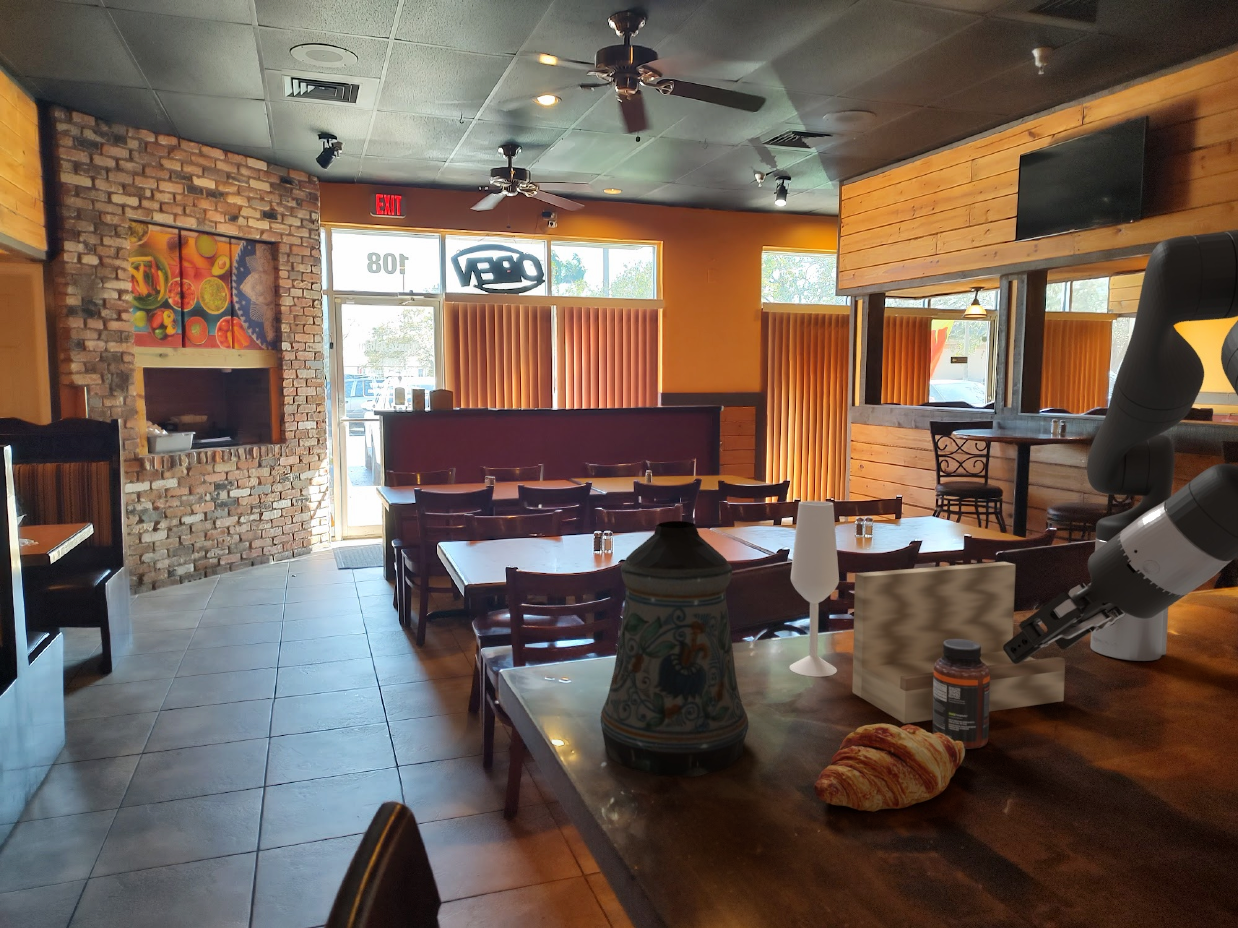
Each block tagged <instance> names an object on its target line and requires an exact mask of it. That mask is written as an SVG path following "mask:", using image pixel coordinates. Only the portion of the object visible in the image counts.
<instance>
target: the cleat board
mask: <svg viewBox="0 0 1238 928" xmlns="http://www.w3.org/2000/svg"><path fill="white" fill-rule="evenodd" d="M1015 585H1016V563H1011V562H1007V561H997V562H995V561H994V562H986V563H984V562H983V563H973V564H972V563H971V564H959V565H946V566H933V567H920V568H919V567H918V568H908V569H906V568H905V569H895V570H883V571H869V572H868V571H867V572H855V573H854V605H853V606H854V609H853V612H854V613H853V614H854V616H853V645H852V646H853V648H852V649H853V652H852V653H853V655H852V656H853V658H852V694H853V695H856V696H858V697H859V698H861V699H863V700H864V701H866V702H868V703H870V705H872V706H874V707H876V708H877V709H880V710H881V711H883V712H884V713H886V714H887V715H889V716H892V718H895V719H896V720H898V721H900V722H901V723H902V724H911V723H918V722H926V721H933V680H934V664H935V662H936V661H937V660H938V659H940V658H942V657H943V656H944V654H943V642H944V641H946V640H950V639H964V640H970V641H974V642H976V643H978V644H979V645H980V646H981V657H980V659H981V661H982V662H983V663H985V664H986V665H987V666H988V668H989V671H990V690H989V691H990V692H989V712H995V711H996V712H997V711H1001V710H1002V711H1003V710H1009V709H1010V710H1011V709H1016V708H1017V709H1019V708H1023V707H1031V706H1037V705H1044V704H1053V703H1057V702H1058V703H1059V702H1064V698H1065V695H1064V694H1065V673H1066V672H1065V671H1066V658H1063V657H1061V656H1055V657H1047V658H1039V659H1036V658H1033V657H1031V656H1030V657H1029V658H1027V659H1026V660H1024V661H1023V662H1021V663H1018V664H1014V663H1013V662H1012V661H1011V660H1010V658H1009V657H1008V655H1007V654H1006V653H1005V651H1004V650H1003V646H1004V644H1005V643H1007V642H1008V641H1009V640H1011V639H1012V638H1013V637H1014V616H1015V615H1014V613H1015V612H1014V611H1015V587H1016V586H1015Z"/></svg>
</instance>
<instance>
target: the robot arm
mask: <svg viewBox="0 0 1238 928" xmlns="http://www.w3.org/2000/svg"><path fill="white" fill-rule="evenodd" d="M1138 300H1139V301H1138V305H1137V310H1136V315H1135V320H1134V325H1133V329H1132V331H1131V336H1130V340H1129V342H1128V345H1127V348H1126V351H1125V354H1124V356H1123V358H1122V360H1121V361H1122V362H1121V364H1120V366H1119V369H1118V371H1117V375H1116V379H1115V381H1114V384H1113V388H1112V392H1111V397H1110V401H1109V404H1108V408H1107V411H1106V415H1105V417H1104V418H1103V420H1102V423H1101V425H1100V427H1099V429H1098V431H1097V433H1096V435H1095V437H1094V439H1093V441H1092V444H1091V446H1090V449H1089V453H1088V456H1087V463H1086V464H1087V465H1086V474H1087V475H1086V476H1087V479H1088V482H1089V485H1090V486H1091V488H1093V490H1094V491H1096V492H1098V493H1100V494H1105V495H1111V496H1113V495H1114V496H1117V495H1118V496H1135V497H1136V496H1138V497H1142V498H1141V500H1140V502H1139V503H1138V504H1137V505H1135V506H1134V507H1132V508H1129V509H1127V510H1126V511H1123V512H1121V513H1117V514H1112V515H1109V516H1105V517H1102V518H1100V519H1099V520H1098V521H1097V522H1096V524H1095V525H1096V527H1095V544H1094V545H1095V547H1094V552H1093V553H1091V555H1090V556H1089V557H1088V560H1087V569H1088V573H1089V576H1090V583H1089V584H1087V585H1086V584H1085V583H1084V582H1082V583H1080V584H1078V585H1076V586H1074V587H1073V588H1071V589H1070V590H1069V591H1065V592H1060V593H1058V594H1057V596H1056V597H1055V598H1053V599H1052V600H1050V601H1049V602H1048V603H1046V604H1045V605H1044V606H1042V607H1040V608H1039V609H1038V610H1037V611H1036V612H1034V613H1033V614H1031V615H1030V616H1029V617H1027V618H1026V619H1024V620H1022V621H1021V622H1020V623H1019V624H1018V628H1019V629H1020V630H1021V631H1020V632H1019V633H1017V634H1015V636H1013V638H1012V639H1011V640H1009V641H1008V642H1007V643H1005V644H1004V646H1003V650H1004V651H1005V653H1006V654H1007V655H1008V657H1009V658H1010V660H1011V661H1012V662H1013V663H1014V664H1018V663H1021V662H1023V661H1024V660H1026V659H1027V658H1029V657H1031V656H1033V655H1034V654H1035V653H1037V652H1038V651H1040V650H1041V649H1042V648H1046V647H1048V646H1050V644H1051V643H1053V642H1054V643H1055V644H1056V646H1058V648H1059V649H1061V650H1067V649H1069V648H1070V647H1072V646H1073V645H1075V644H1076V643H1078V642H1079V641H1080V640H1082V639H1083V638H1085V637H1086V636H1088V635H1089V634H1090V649H1091V650H1092V651H1093V652H1095V653H1098V654H1100V655H1103V656H1106V657H1111V658H1114V659H1120V660H1125V661H1134V662H1135V661H1137V662H1141V661H1142V662H1146V661H1148V662H1149V661H1157V660H1159V659H1160V658H1161V657H1162V656H1165V655H1167V641H1168V640H1167V637H1168V622H1169V620H1168V619H1169V607H1171V606H1172V605H1173V604H1175V603H1176V602H1178V601H1180V600H1181V599H1183V598H1184V597H1186V596H1187V595H1188V594H1190V593H1191V592H1193V591H1195V590H1196V589H1197V588H1199V587H1201V585H1203V584H1205V583H1206V582H1208V581H1210V580H1211V579H1212V578H1213V577H1215V576H1216V575H1217V574H1218V573H1219V572H1220V571H1221V570H1222V569H1224V567H1226V566H1227V565H1228V564H1230V563H1231V562H1232V561H1233V560H1235V559H1236V558H1238V465H1236V464H1231V463H1218V464H1214V465H1212V466H1210V467H1208V468H1206V469H1205V470H1204V471H1202V472H1201V473H1200V474H1198V475H1197V476H1195V477H1194V478H1193V479H1191V480H1190V481H1189V482H1188V483H1186V484H1185V485H1184V486H1182V487H1181V488H1180V489H1179V490H1177V491H1175V493H1173V494H1172V489H1173V485H1174V484H1173V483H1174V477H1175V476H1174V475H1175V464H1176V457H1175V456H1176V454H1175V453H1176V452H1175V447H1174V444H1173V442H1172V440H1171V438H1170V437H1169V436H1168V435H1164V434H1162V433H1164V432H1166V431H1168V430H1170V429H1171V428H1173V427H1174V426H1176V425H1178V424H1179V423H1180V422H1182V421H1183V420H1184V419H1185V417H1186V416H1187V415H1188V414H1189V413H1190V411H1191V410H1192V407H1193V406H1194V405H1195V402H1196V400H1197V398H1198V395H1199V393H1200V391H1201V389H1202V387H1203V383H1204V379H1205V369H1204V365H1203V361H1202V360H1201V356H1199V354H1198V353H1197V351H1196V350H1195V348H1194V347H1193V346H1192V345H1191V343H1189V342H1188V341H1187V340H1186V338H1185V337H1184V336H1183V335H1181V333H1179V331H1178V330H1177V329H1176V327H1175V326H1176V325H1177V324H1179V323H1184V322H1198V321H1211V320H1225V319H1227V320H1228V319H1233V318H1237V317H1238V230H1228V231H1222V232H1211V233H1203V234H1202V233H1201V234H1188V235H1182V236H1175V237H1171V238H1168V239H1165V240H1164V239H1163V240H1162V241H1161V242H1159V243H1157V245H1156V246H1155V247H1154V249H1153V251H1151V254H1150V255H1149V258H1148V261H1147V264H1146V267H1145V272H1144V275H1143V280H1142V284H1141V289H1140V294H1139V299H1138ZM1220 362H1221V366H1222V370H1223V373H1224V374H1225V376H1226V379H1227V381H1228V383H1229V384H1230V385H1231V387H1232V389H1233V391H1234V392H1235V394H1236V396H1237V397H1238V320H1236V322H1235V323H1234V324H1233V326H1232V327H1231V328H1230V329H1229V331H1228V333H1227V334H1226V335H1225V337H1224V340H1223V343H1222V346H1221V351H1220ZM1042 624H1043V626H1045V628H1046V632H1045V630H1044V629H1043V628H1042V627H1041V625H1042Z"/></svg>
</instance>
